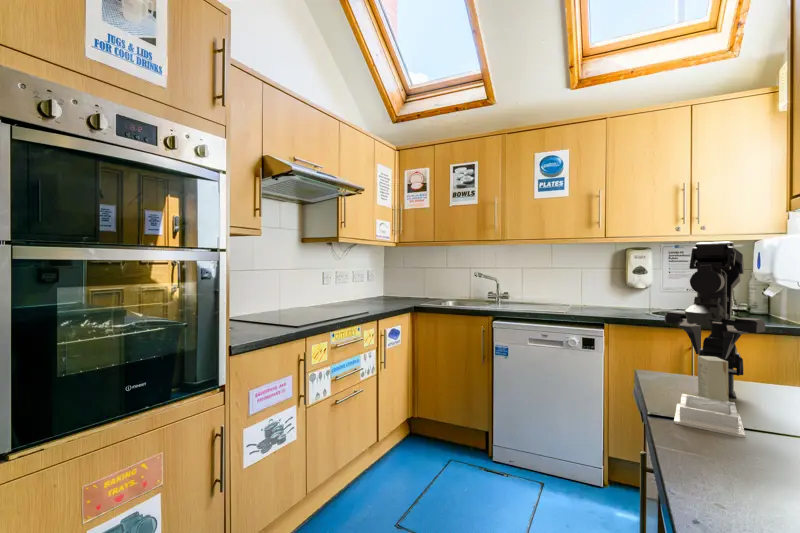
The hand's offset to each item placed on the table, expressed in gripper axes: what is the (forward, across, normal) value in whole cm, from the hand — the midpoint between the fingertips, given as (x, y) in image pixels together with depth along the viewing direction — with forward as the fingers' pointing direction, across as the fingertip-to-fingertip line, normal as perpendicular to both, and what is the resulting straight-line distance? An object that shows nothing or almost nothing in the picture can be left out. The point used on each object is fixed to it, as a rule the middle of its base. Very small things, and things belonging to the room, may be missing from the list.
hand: (711, 356), depth 96 cm
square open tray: (+13, +2, -8) cm, 16 cm away
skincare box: (+13, -1, +3) cm, 14 cm away
